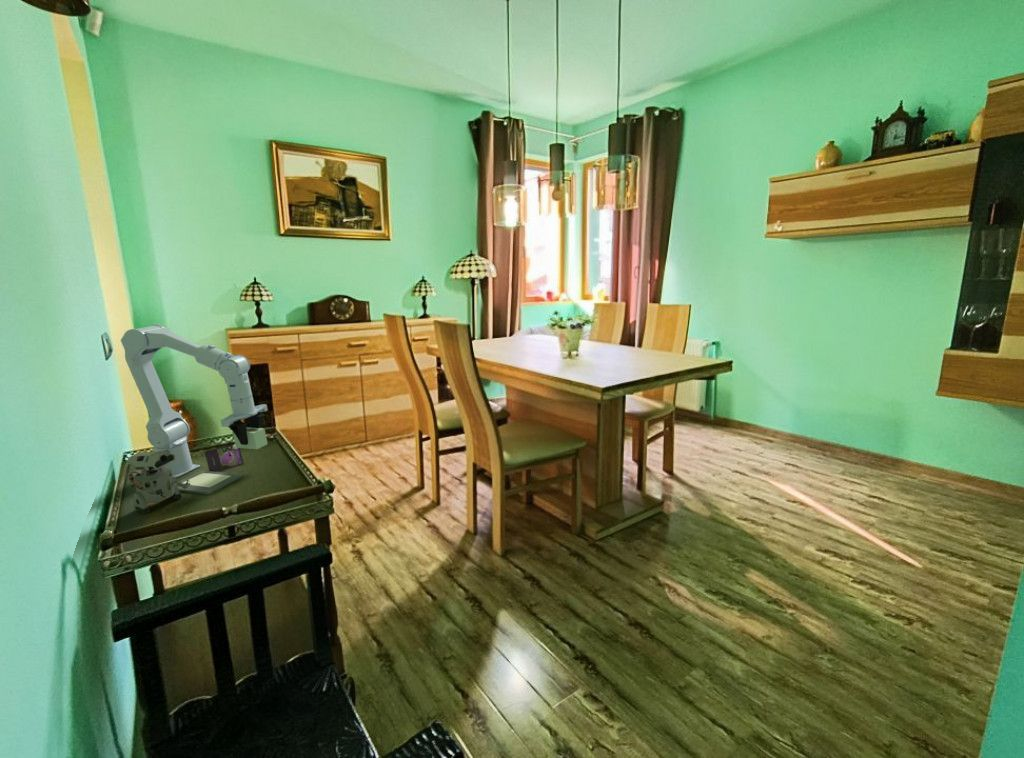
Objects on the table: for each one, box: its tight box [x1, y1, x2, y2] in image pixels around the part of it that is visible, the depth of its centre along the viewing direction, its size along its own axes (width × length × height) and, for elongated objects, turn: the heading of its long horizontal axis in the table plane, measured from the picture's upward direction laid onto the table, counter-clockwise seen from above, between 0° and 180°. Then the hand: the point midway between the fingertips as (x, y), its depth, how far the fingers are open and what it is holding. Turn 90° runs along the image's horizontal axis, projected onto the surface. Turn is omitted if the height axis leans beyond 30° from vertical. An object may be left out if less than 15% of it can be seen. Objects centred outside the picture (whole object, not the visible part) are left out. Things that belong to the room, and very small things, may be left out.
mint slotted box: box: [232, 426, 268, 450], centre depth 140 cm, size 4×8×5 cm, turn 72°
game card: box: [204, 443, 244, 472], centre depth 145 cm, size 7×5×9 cm
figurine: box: [125, 450, 190, 514], centre depth 120 cm, size 9×12×15 cm
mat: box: [176, 469, 244, 496], centre depth 134 cm, size 16×11×1 cm
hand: (250, 441), depth 141 cm, fingers closed on mint slotted box, 4 cm apart
